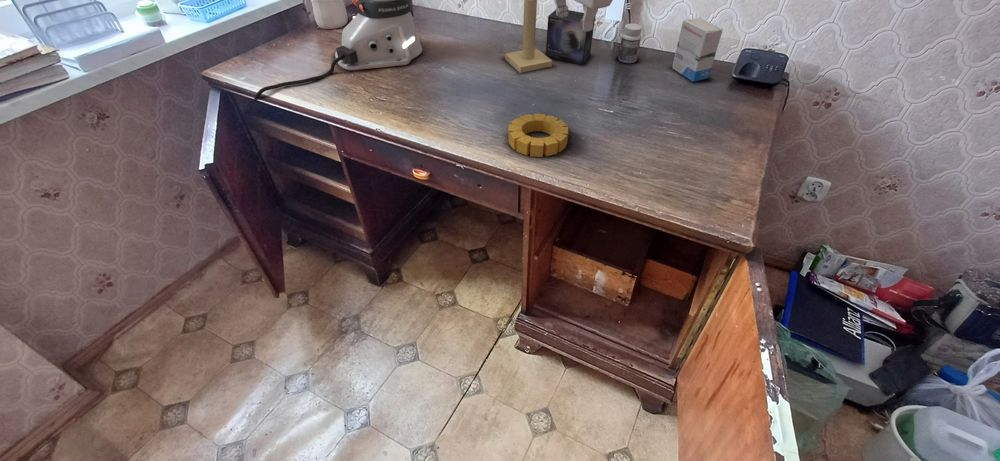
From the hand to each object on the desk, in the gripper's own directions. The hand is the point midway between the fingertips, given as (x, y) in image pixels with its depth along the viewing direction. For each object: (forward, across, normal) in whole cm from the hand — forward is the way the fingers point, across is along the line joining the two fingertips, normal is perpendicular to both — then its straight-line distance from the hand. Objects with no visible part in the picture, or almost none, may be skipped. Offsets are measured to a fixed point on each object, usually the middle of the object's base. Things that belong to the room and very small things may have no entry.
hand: (573, 23), depth 85 cm
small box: (+19, -30, +14) cm, 38 cm away
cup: (+12, -76, -40) cm, 87 cm away
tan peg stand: (+18, -30, +3) cm, 35 cm away
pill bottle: (+20, -23, +28) cm, 41 cm away
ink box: (+22, -10, +37) cm, 44 cm away
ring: (+20, +4, -10) cm, 22 cm away
